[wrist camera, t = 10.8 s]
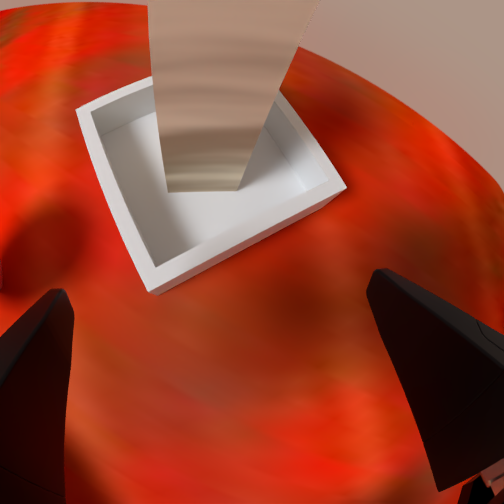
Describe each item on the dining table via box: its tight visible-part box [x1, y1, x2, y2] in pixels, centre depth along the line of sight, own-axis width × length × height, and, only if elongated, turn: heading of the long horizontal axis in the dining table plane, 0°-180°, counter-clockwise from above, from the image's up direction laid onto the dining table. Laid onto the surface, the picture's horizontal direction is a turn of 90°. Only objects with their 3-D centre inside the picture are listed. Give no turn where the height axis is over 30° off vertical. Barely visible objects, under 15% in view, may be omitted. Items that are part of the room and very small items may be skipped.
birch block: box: [148, 0, 320, 193], centre depth 11 cm, size 4×4×13 cm
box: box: [76, 76, 347, 296], centre depth 16 cm, size 12×12×4 cm
